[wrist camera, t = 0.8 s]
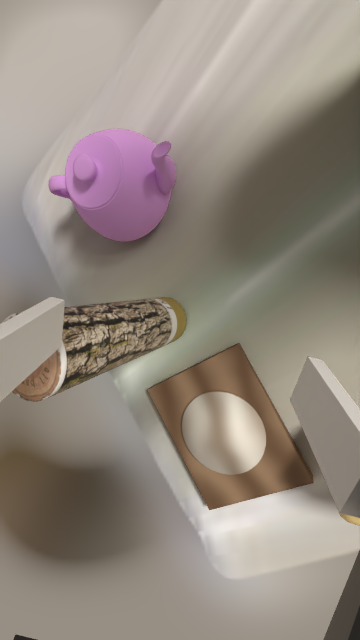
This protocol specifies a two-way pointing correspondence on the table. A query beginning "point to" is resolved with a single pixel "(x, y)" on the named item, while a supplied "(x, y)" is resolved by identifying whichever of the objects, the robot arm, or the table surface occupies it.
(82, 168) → the teapot
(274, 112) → the table surface
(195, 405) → the walnut board
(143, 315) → the paper tube
